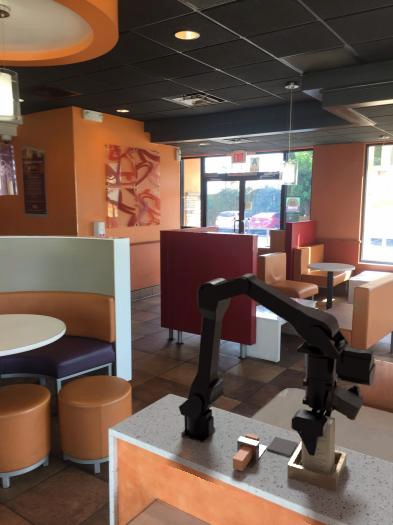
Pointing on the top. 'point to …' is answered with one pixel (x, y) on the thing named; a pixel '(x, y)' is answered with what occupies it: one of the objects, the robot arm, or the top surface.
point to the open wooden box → (315, 476)
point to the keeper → (257, 448)
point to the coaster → (282, 446)
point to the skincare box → (322, 451)
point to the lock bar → (244, 454)
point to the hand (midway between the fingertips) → (317, 443)
